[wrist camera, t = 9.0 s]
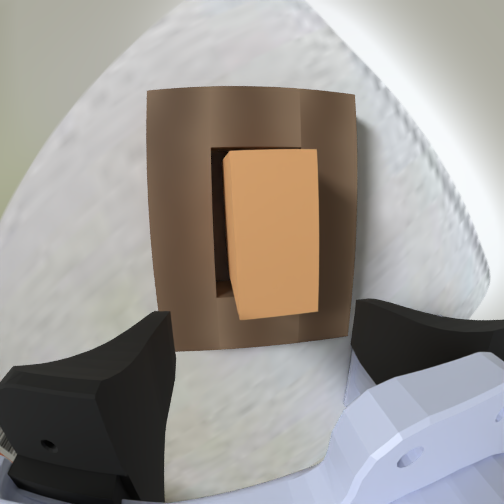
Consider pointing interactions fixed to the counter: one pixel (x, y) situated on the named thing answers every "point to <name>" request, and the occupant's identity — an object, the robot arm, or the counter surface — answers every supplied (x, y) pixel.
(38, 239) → the counter surface
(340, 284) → the keyed socket
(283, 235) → the keyed peg
